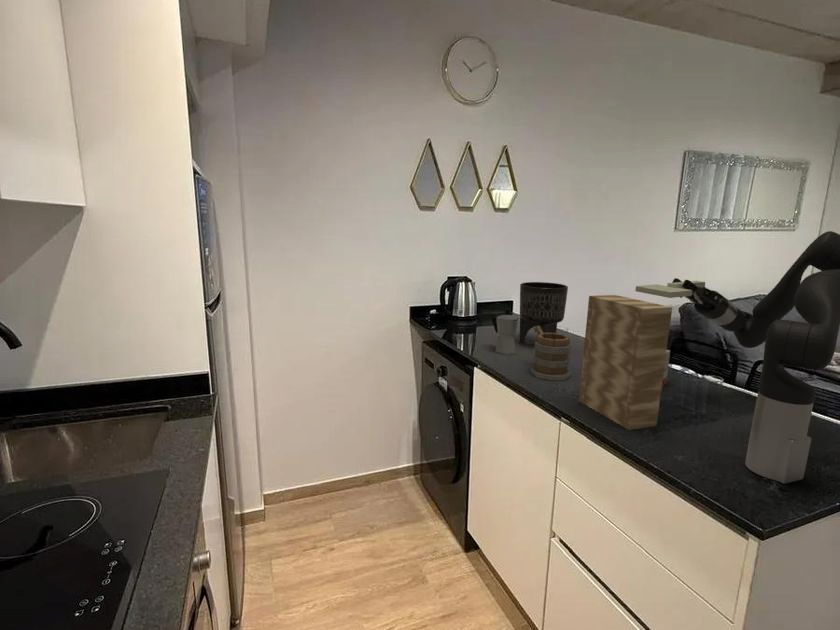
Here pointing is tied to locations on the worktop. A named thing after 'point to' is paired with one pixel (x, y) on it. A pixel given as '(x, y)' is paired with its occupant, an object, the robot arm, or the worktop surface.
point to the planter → (541, 306)
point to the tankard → (551, 356)
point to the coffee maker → (505, 332)
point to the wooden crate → (625, 359)
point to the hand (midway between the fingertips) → (679, 282)
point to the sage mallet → (668, 289)
